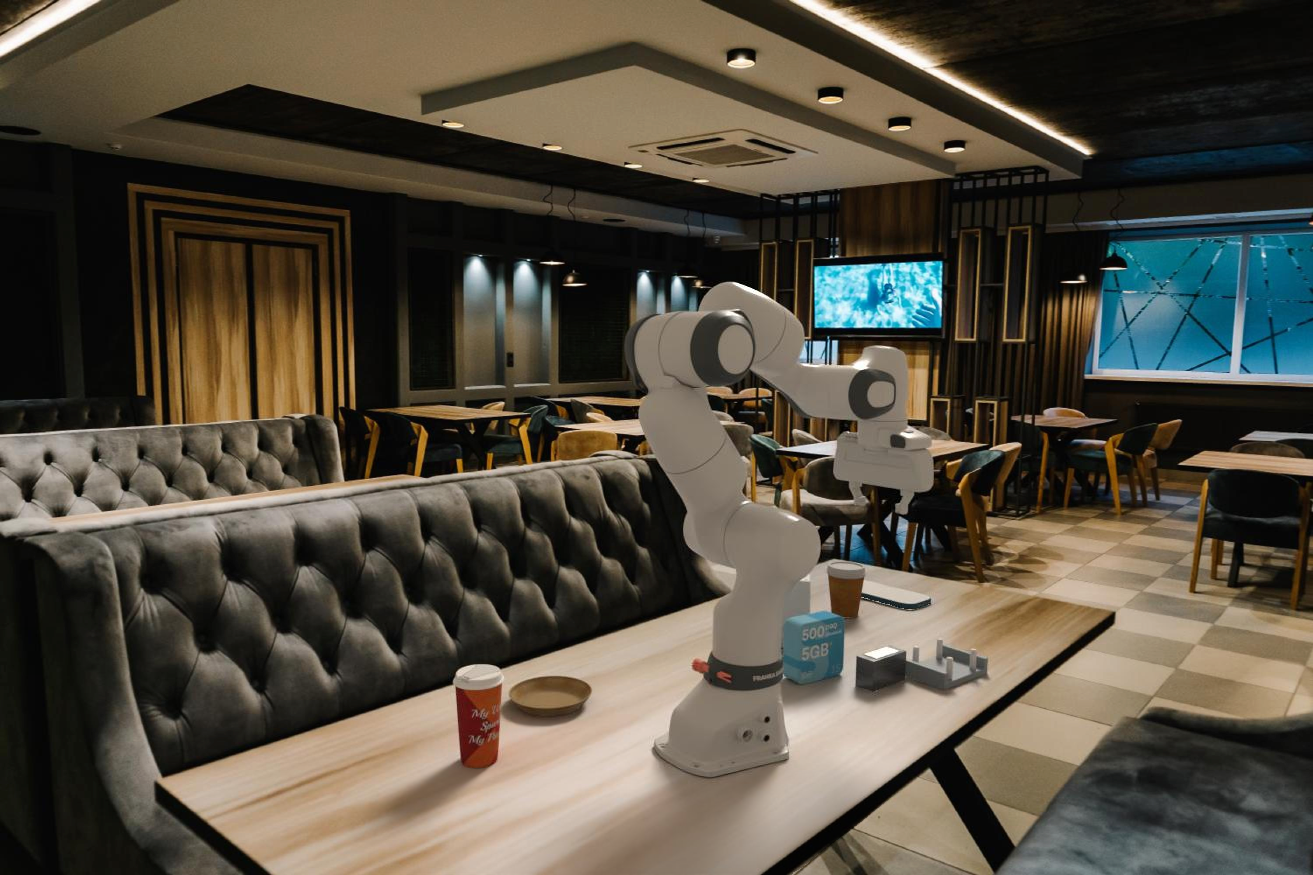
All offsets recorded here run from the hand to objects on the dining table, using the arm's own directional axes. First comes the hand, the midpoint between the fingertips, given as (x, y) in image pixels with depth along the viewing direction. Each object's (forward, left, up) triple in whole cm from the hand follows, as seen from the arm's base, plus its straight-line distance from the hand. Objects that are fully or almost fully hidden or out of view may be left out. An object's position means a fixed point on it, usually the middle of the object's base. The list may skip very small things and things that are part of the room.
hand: (880, 509), depth 162 cm
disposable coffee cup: (+33, +34, -35) cm, 58 cm away
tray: (+18, -3, -34) cm, 39 cm away
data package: (-4, +11, -35) cm, 37 cm away
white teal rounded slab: (+53, +38, -35) cm, 74 cm away
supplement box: (+7, +28, -35) cm, 45 cm away
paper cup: (-72, +18, -35) cm, 82 cm away
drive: (+4, +1, -34) cm, 35 cm away
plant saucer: (-52, +30, -35) cm, 70 cm away
